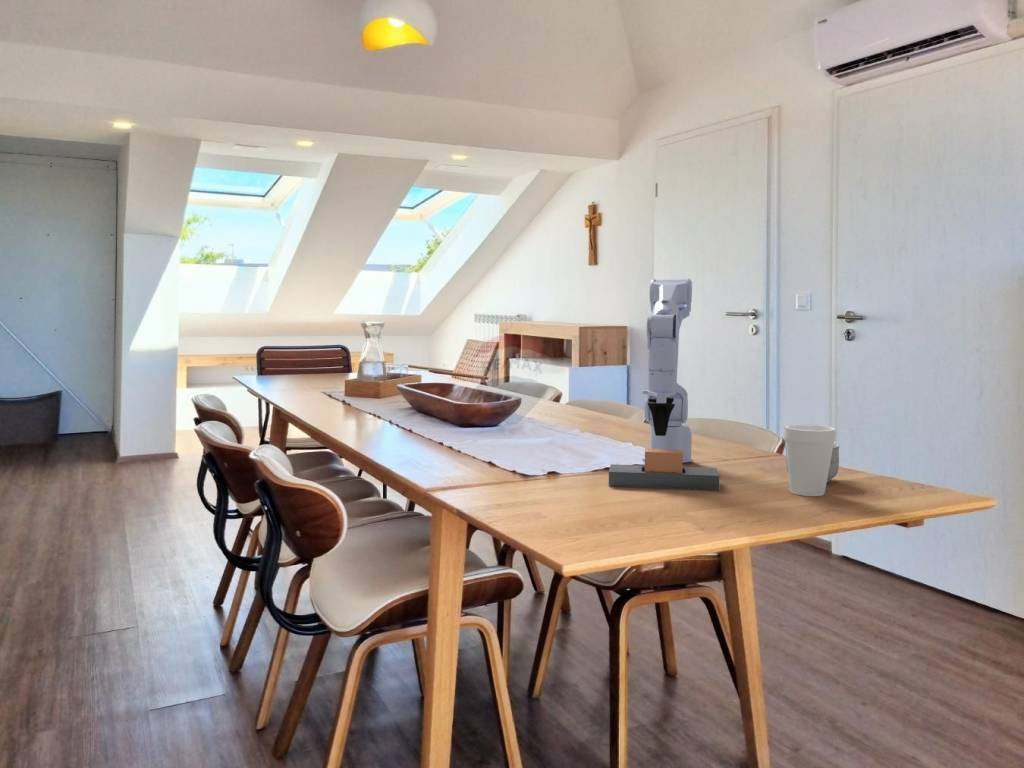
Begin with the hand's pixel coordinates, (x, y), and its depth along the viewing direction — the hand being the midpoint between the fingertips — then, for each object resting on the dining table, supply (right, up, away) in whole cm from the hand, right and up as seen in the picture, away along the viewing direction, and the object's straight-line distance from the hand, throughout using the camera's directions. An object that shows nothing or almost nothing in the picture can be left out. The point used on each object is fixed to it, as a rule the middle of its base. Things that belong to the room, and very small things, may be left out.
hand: (660, 432), depth 177 cm
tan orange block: (-1, -10, -8) cm, 13 cm away
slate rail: (-1, -10, -8) cm, 13 cm away
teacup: (+33, -10, -3) cm, 34 cm away
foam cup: (+27, -11, -15) cm, 32 cm away
